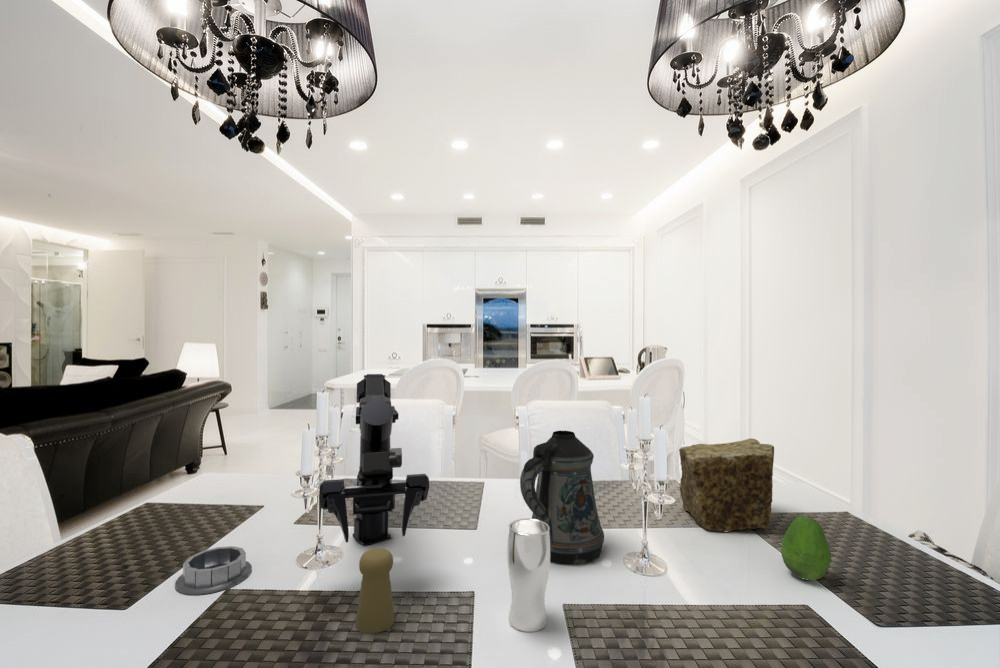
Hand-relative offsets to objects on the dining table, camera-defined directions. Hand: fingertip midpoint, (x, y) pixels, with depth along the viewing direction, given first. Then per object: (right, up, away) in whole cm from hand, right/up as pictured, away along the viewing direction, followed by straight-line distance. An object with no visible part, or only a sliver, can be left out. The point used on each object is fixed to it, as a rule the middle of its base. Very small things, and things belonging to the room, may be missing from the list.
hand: (375, 538), depth 77 cm
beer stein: (+34, -12, +21) cm, 42 cm away
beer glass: (+25, -12, -4) cm, 28 cm away
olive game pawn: (+1, -11, -5) cm, 12 cm away
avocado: (+80, -13, +11) cm, 81 cm away
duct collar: (-32, -11, +8) cm, 35 cm away
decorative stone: (+78, -13, +40) cm, 88 cm away
